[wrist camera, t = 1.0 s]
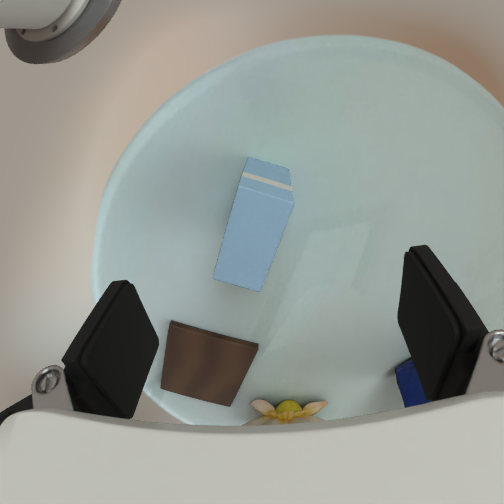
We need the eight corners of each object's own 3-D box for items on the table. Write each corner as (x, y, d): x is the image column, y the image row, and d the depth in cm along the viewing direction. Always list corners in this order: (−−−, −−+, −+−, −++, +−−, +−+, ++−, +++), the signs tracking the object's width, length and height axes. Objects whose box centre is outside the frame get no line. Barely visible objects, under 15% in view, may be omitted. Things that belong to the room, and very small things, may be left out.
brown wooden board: (161, 384, 48) (160, 388, 47) (171, 319, 40) (169, 325, 39) (230, 402, 49) (230, 407, 48) (258, 343, 41) (258, 349, 40)
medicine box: (226, 229, 33) (211, 279, 25) (248, 156, 29) (237, 185, 21) (264, 240, 33) (260, 292, 25) (289, 169, 29) (295, 202, 21)
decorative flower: (237, 430, 50) (237, 472, 41) (238, 386, 47) (237, 431, 38) (318, 428, 51) (328, 468, 41) (329, 385, 48) (343, 427, 38)
